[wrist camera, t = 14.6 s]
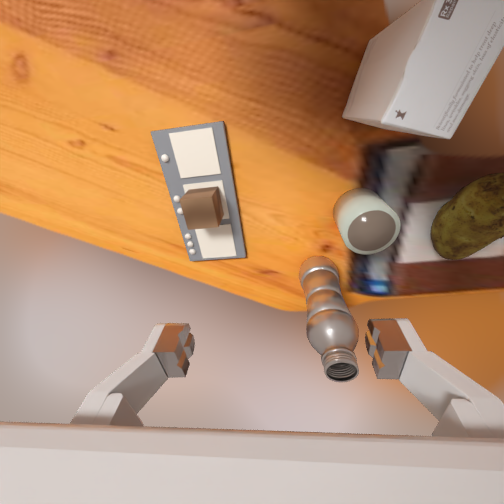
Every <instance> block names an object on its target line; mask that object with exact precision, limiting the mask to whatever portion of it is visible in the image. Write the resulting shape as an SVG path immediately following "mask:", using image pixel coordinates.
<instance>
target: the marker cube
mask: <svg viewBox="0 0 504 504" xmlns="http://www.w3.org/2000/svg"><path fill="white" fill-rule="evenodd" d="M179 201H180V204H181V208H182V211H183V215H184V218H185V221H186V225H187V228H188V230H193V229H204V228H216V227H219V225H220V223H221V220H222V218H223V216H224V212H223V207H222V203H221V198H220V193H219V188H218V186H217V187H208V188H199V189H190V190H188V191H187V192H186V193H185V194H184V195H183V196H182V198H181V199H180V200H179Z"/></svg>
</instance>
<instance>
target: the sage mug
mask: <svg viewBox="0 0 504 504" xmlns="http://www.w3.org/2000/svg"><path fill="white" fill-rule="evenodd" d="M333 218H334V221H335V223H336V225H337V227H338V229H339V232H340V234H341V236H342V238H343V240H344V242H345V244H346V246H347V247H348V248H349V249H350V250H352V251H353V252H356V253H359V254H374V253H377V252H380V251H382V250H384V249H386V248H387V247H389V246H390V245H391V244H392V243H393V242H394V241H395V240H396V238H397V236H398V234H399V231H400V219H399V217H398V215H397V214H396V213H395V212H394V211H393V210H392V209H391V208H390V207H389V206H388V205H387V204H386V203H385V202H384V201H383V200H382V199H381V198H380V197H379V196H378V195H377V194H376V193H375V192H374V191H372V190H370V189H367V188H355V189H352V190H349V191H347V192H346V193H344V194H343V195H342V196H340V198H339V199H338V200H337V201H336V203H335V205H334V208H333Z"/></svg>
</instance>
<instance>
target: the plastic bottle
mask: <svg viewBox="0 0 504 504" xmlns="http://www.w3.org/2000/svg"><path fill="white" fill-rule="evenodd" d="M299 280H300V283H301V286H302V288H303V290H304V294H305V297H306V304H307V328H306V330H307V338H308V340H309V342H310V343H311V345H312V347H313V348H314V349H315V350H316V351H317V352H318V353H319V354H320V355H322V356H321V360H322V364H323V366H324V371H325V375H326V376H327V378H329V379H330V380H332V381H335V382H347V381H350V380H353V379H354V378H356V377H357V375H358V373H359V370H358V366H357V362H356V361H357V360H356V356H355V353H354V352H353V351H354V349H355V347H356V344H357V342H358V336H359V335H358V333H359V331H358V327H357V324H356V322H355V320H354V318H353V316H352V315H351V313H350V311H349V309H348V308H347V306H346V304H345V301H344V299H343V296H342V294H341V289H340V285H339V274H338V270H337V268H336V266H335V265H334V263H333V262H332V261H331V260H330V259H328V258H326V257H323V256H314V257H311V258H308V259H307V260H305V261H304V262H303V263H302V265H301V267H300V271H299Z"/></svg>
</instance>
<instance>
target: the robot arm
mask: <svg viewBox="0 0 504 504" xmlns="http://www.w3.org/2000/svg"><path fill="white" fill-rule="evenodd" d="M367 326H368V328H369V330H368V331H367V332H366V336H365V342H366V348H367V351H368V354H369V355H370V356H371V357H372V358H373V361H372V365H373V368H374V371H375V374H376V376H377V379H399V381H400V382H401V383H402V384H403V385H404V386H405V387H406V388H407V389H408V390H409V391H410V392H411V393H412V394H413V395H414V396H415V397H416V398H417V399H418V400H419V401H420V402H421V403H422V404H423V405H424V406H425V407H426V408H427V409H428V410H429V411H430V412H431V413H432V414H433V415H434V416H435V417H436V418H437V419H438V420H439V423H438V424H437V426H436V428H435V430H434V431H433V433H432V436H408V435H379V434H351V433H350V434H349V433H322V432H294V431H292V432H291V431H264V430H234V429H206V428H177V427H147V426H143V423H142V421H141V419H140V418H139V417H138V416H137V413H138V412H139V411H140V410H141V409H142V408H143V406H144V405H145V404H146V403H147V402H148V401H149V399H150V398H151V397H152V396H153V395H154V394H155V393H156V392H157V390H158V389H159V388H160V387H161V386H162V385H163V384H164V382H165V381H166V380H167V379H168V378H169V377H186V374H187V370H188V367H189V361H188V359H189V358H190V357H191V356H192V355H193V351H194V345H195V342H194V337H193V335H192V334H191V333H189V332H190V326H189V324H186V323H183V324H182V323H181V324H179V323H177V324H176V323H165V324H164V323H159V324H158V323H157V324H156V325H155V326H154V328H153V330H152V332H151V334H150V336H149V338H148V340H147V342H146V343H145V345H144V347H143V349H142V351H141V353H137V354H136V355H135V356H133V357H132V358H131V359H130V360H128V361H127V362H126V363H125V364H123V365H122V366H121V367H120V368H118V369H117V370H116V371H115V372H114V373H112V374H111V375H110V376H108V377H107V378H106V379H105V380H103V381H102V382H101V383H100V384H98V385H97V386H96V387H95V388H93V389H92V390H91V391H90V392H89V393H88V395H87V396H86V398H85V400H84V401H83V403H82V404H81V406H80V408H79V410H78V411H77V413H76V414H75V416H74V418H73V419H72V421H71V422H70V424H59V423H58V424H57V423H29V422H4V421H0V504H504V404H503V403H502V402H501V400H500V399H499V398H498V397H496V396H495V395H493V394H492V393H490V392H489V391H487V390H486V389H485V388H483V387H482V386H481V385H479V384H478V383H476V382H475V381H473V380H472V379H470V378H469V377H467V376H466V375H465V374H463V373H462V372H460V371H459V370H458V369H456V368H455V367H453V366H452V365H450V364H449V363H448V362H446V361H445V360H443V359H442V358H440V357H439V356H437V355H436V354H435V353H433V352H432V351H430V352H429V351H427V349H426V348H425V346H424V344H423V343H422V341H421V339H420V337H419V336H418V334H417V332H416V331H415V329H414V327H413V326H412V324H411V322H410V321H409V320H408V319H407V318H406V319H405V318H404V319H403V318H401V319H370V320H369V321H368V324H367Z"/></svg>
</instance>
